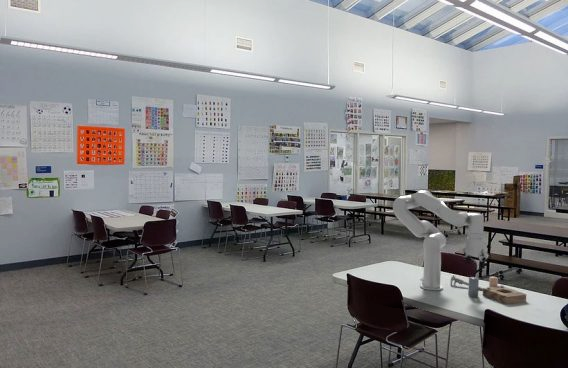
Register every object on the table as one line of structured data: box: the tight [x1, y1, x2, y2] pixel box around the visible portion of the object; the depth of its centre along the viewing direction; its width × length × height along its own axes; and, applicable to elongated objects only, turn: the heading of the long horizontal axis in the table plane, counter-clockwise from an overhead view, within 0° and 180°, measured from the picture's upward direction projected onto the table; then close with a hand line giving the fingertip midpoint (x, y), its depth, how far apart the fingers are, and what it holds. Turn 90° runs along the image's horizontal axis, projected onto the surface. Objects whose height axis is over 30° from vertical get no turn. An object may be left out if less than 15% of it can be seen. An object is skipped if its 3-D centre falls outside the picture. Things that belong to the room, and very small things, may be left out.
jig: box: [482, 285, 527, 305], centre depth 238 cm, size 16×14×5 cm
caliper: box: [450, 274, 484, 292], centre depth 257 cm, size 20×1×6 cm, turn 52°
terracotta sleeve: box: [488, 276, 499, 287], centre depth 251 cm, size 4×4×8 cm
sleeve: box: [467, 276, 480, 298], centre depth 242 cm, size 5×5×10 cm
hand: (475, 266), depth 241 cm, fingers open, 9 cm apart
